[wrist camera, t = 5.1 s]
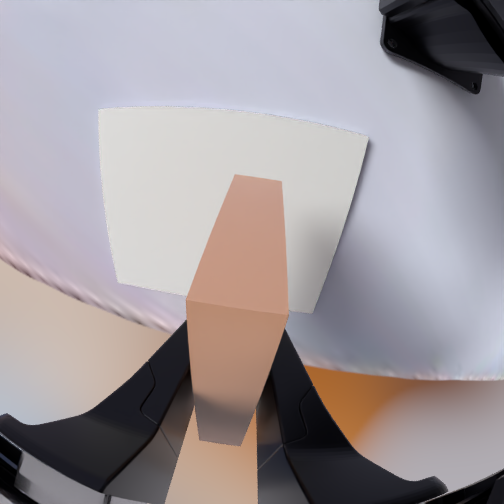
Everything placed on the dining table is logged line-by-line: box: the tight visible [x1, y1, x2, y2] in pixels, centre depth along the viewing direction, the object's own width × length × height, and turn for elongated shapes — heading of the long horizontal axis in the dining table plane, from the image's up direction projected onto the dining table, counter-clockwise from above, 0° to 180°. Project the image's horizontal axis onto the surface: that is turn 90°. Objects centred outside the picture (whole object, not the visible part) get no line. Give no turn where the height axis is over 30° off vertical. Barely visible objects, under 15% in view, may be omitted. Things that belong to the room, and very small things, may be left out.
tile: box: [186, 174, 289, 446], centre depth 9 cm, size 2×8×6 cm, turn 172°
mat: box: [99, 106, 369, 314], centre depth 15 cm, size 14×12×1 cm
